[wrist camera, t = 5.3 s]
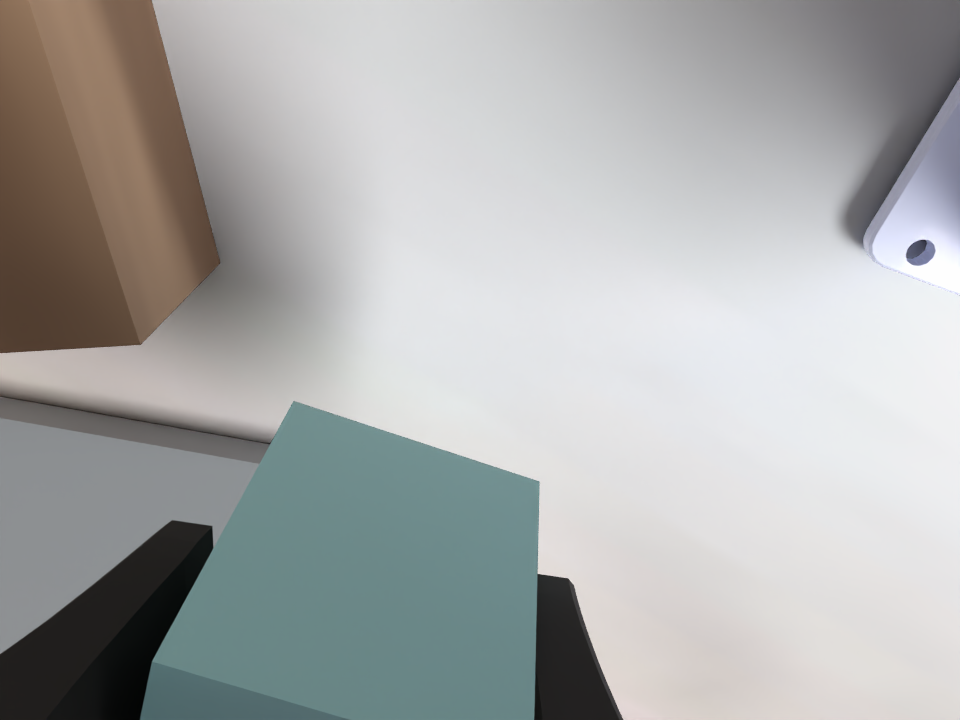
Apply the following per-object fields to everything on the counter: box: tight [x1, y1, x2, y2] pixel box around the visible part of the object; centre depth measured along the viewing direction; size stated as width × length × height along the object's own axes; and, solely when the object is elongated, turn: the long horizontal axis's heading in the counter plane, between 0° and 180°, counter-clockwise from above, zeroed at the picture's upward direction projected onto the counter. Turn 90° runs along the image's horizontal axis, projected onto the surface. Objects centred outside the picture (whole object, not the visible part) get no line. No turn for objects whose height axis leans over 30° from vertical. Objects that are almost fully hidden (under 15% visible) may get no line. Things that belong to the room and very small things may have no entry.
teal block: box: [140, 401, 539, 720], centre depth 11 cm, size 4×4×5 cm
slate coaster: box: [0, 397, 270, 654], centre depth 22 cm, size 11×11×1 cm
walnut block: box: [0, 0, 220, 353], centre depth 15 cm, size 4×6×4 cm, turn 6°
